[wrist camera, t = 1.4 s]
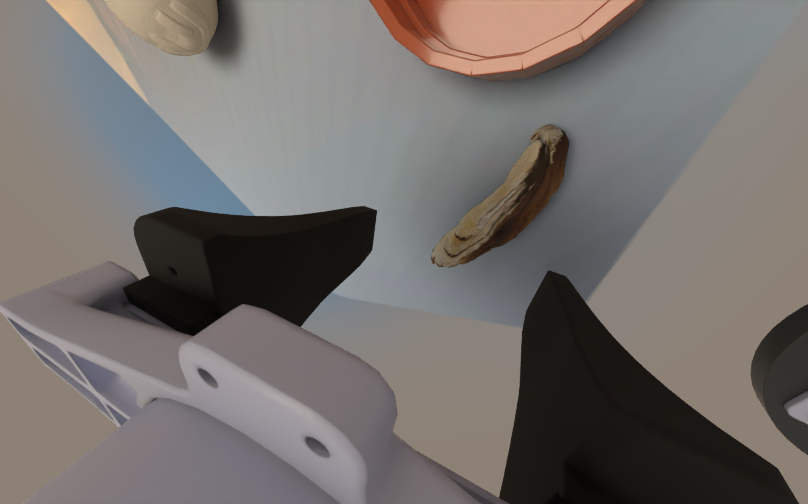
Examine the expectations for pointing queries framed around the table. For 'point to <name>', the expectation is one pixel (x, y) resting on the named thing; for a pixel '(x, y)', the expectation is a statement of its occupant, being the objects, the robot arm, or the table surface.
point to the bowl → (502, 32)
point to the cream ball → (170, 23)
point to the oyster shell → (509, 201)
